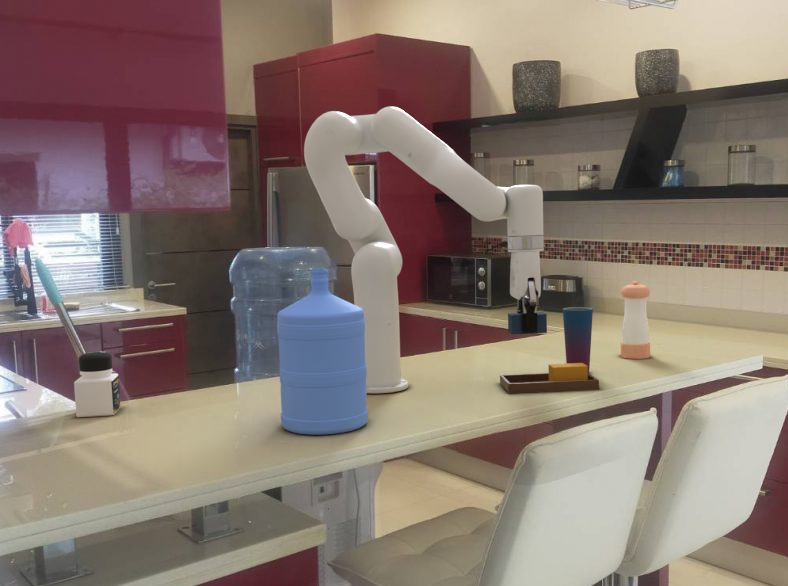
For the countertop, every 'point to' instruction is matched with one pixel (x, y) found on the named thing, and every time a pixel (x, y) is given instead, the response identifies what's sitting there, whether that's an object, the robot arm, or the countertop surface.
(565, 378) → the orange rectangular block
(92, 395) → the medicine bottle
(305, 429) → the water jug
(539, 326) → the dark blue block
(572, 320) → the cup
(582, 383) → the tray
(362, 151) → the robot arm
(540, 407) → the countertop surface
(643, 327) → the pepper shaker
